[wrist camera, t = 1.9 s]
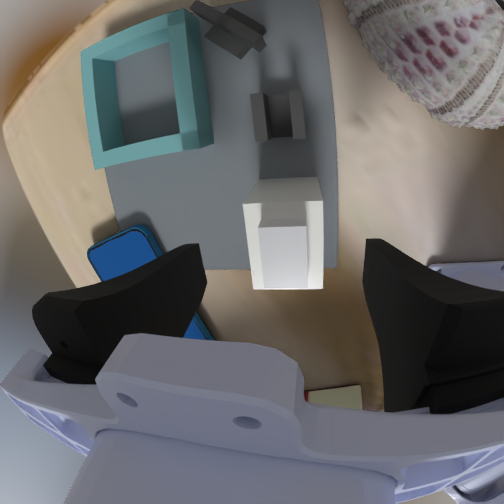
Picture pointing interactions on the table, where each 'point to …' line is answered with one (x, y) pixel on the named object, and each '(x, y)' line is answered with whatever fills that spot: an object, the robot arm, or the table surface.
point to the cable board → (212, 120)
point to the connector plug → (285, 233)
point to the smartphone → (134, 263)
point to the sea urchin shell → (440, 54)
